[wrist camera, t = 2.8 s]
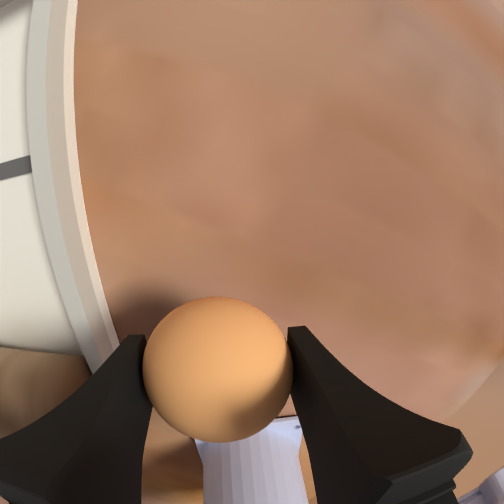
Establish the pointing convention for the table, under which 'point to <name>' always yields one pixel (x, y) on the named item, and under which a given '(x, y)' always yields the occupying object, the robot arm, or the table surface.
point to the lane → (45, 192)
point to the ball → (217, 369)
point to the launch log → (35, 384)
